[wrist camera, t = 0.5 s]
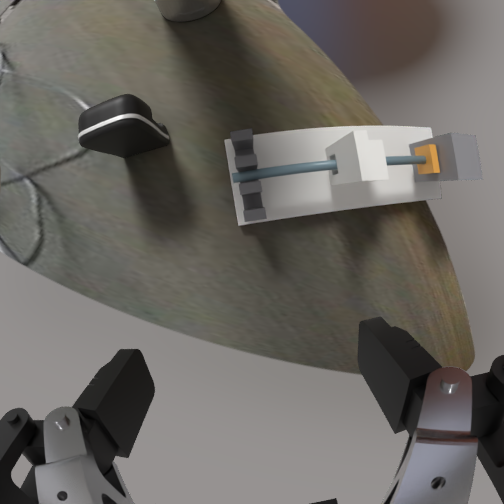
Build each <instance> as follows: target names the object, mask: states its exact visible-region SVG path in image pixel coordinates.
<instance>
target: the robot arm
mask: <svg viewBox="0 0 504 504" xmlns="http://www.w3.org/2000/svg"><path fill="white" fill-rule="evenodd" d="M220 1H221V0H155V2H156V4H157V6H158V8H159V10H160V12H161V14H162V15H163V16H164V17H165V18H166V19H168V20H171V21H177V22H184V21H191V20H195V19H199V18H201V17H203V16H206V15H207V14H209V13H211V12H212V11H213V10H215V9H216V8H217V6H218V5H219V3H220ZM358 364H359V369H360V371H361V373H362V375H363V377H364V379H365V381H366V382H367V384H368V386H369V387H370V389H371V391H372V393H373V395H374V397H375V398H376V400H377V402H378V404H379V406H380V407H381V409H382V411H383V413H384V415H385V416H386V418H387V420H388V422H389V424H390V426H391V428H392V429H393V431H394V433H395V434H396V433H398V432H401V431H404V430H407V431H408V433H409V437H408V440H407V443H406V446H405V449H404V452H403V455H402V457H401V460H400V463H399V466H398V468H397V471H396V474H395V476H394V478H393V481H392V483H391V485H390V487H389V489H388V491H387V493H386V495H385V497H384V499H383V501H382V503H381V504H468V500H469V496H470V492H471V487H472V482H473V476H474V470H475V464H476V457H477V456H478V458H479V460H480V461H481V463H482V465H483V467H484V468H485V470H486V472H487V474H488V476H489V477H490V479H491V481H492V483H493V485H494V487H495V488H496V490H497V492H498V494H499V496H500V498H501V500H502V502H503V504H504V355H501V356H499V357H497V358H496V359H495V360H494V361H493V363H492V366H491V369H490V372H488V373H483V374H479V375H475V376H469V374H468V373H467V372H465V371H464V370H462V369H460V368H457V367H442V366H441V365H440V364H439V363H438V362H437V361H436V360H435V359H434V358H433V357H432V356H431V355H430V354H429V353H428V352H427V351H426V350H425V349H424V348H423V347H421V346H420V344H419V343H418V342H417V341H416V340H414V338H413V337H412V336H411V335H410V334H409V333H408V332H407V331H405V330H403V329H400V328H398V327H396V326H394V327H390V325H389V324H388V323H387V322H386V321H385V320H384V319H383V318H382V317H376V318H372V319H368V320H364V321H361V322H360V324H359V341H358ZM154 393H155V387H154V382H153V380H152V377H151V375H150V372H149V370H148V367H147V365H146V362H145V360H144V357H143V355H142V353H141V351H140V350H138V349H120V350H119V351H118V352H117V354H116V355H115V356H114V357H113V359H112V360H111V361H110V362H109V363H107V364H106V365H105V366H103V367H102V368H101V369H100V370H99V371H98V373H97V374H96V375H95V376H94V378H93V379H92V380H91V382H90V383H89V385H88V386H87V387H86V388H85V390H84V391H83V393H82V394H81V395H80V397H79V398H78V399H77V401H76V402H75V404H74V405H73V406H72V407H60V408H57V409H55V410H53V411H52V412H50V413H49V414H48V415H47V416H46V418H45V420H32V418H31V417H30V415H29V414H28V412H27V411H26V410H25V409H23V408H16V409H12V410H10V411H9V412H7V413H6V414H5V415H4V416H3V418H2V419H1V420H0V504H135V503H134V502H133V500H132V498H131V496H130V494H129V492H128V490H127V488H126V486H125V484H124V481H123V479H122V477H121V475H120V472H119V470H118V467H117V465H116V464H115V462H113V460H114V458H115V456H120V457H126V458H128V457H129V455H130V453H131V450H132V448H133V445H134V443H135V440H136V438H137V435H138V433H139V430H140V428H141V426H142V423H143V421H144V418H145V416H146V414H147V411H148V409H149V406H150V404H151V402H152V399H153V397H154ZM21 454H23V455H24V456H25V457H26V458H27V460H28V461H29V462H30V463H31V464H32V465H33V466H32V468H31V470H30V471H29V473H28V475H27V477H26V479H25V481H24V483H23V485H22V486H21V488H19V487H17V486H16V485H15V484H14V482H13V481H12V478H11V471H12V469H13V467H14V466H15V464H16V462H17V461H18V459H19V457H20V456H21ZM311 504H337V500H336V498H335V499H331V500H326V501H321V502H316V503H311Z"/></svg>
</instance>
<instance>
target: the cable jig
mask: <svg viewBox="0 0 504 504" xmlns="http://www.w3.org/2000/svg"><path fill="white" fill-rule="evenodd" d="M357 130H367V134H368V139H369V140H382V141H383V146H384V152H385V157H386V163H387V169H388V176H389V179H387V180H378V181H369V182H359V183H349V184H339V185H331V181H330V175H329V170H337V169H338V168H337V162H336V160H327V157H326V151H325V149H326V148H327V147H329V146H330V145H332V144H333V143H335V142H336V141H338V140H339V139H341V138H342V137H344V136H346V135H347V134H349V133H350V132H352V131H357ZM230 135H231V139H227V140H224V141H225V147H226V154H227V160H228V166H229V172H230V178H231V184H232V190H233V196H234V202H235V208H236V214H237V220H238V226H240V225H246V224H252V223H259V222H265V221H271V220H278V219H284V218H291V217H298V216H305V215H311V214H318V213H326V212H333V211H340V210H348V209H355V208H363V207H371V206H379V205H387V204H396V203H405V202H414V201H423V200H432V199H441V198H442V194H441V185H440V181H447V180H478V179H482V171H481V164H480V157H479V151H478V146H477V141H476V136H475V135H468V134H459V133H448V134H444V135H440V136H436V137H433V136H432V131H431V128H427V127H426V128H425V127H409V126H408V127H407V126H344V127H325V128H311V129H300V130H290V131H281V132H273V133H265V134H258V135H253V133H252V128H250V129H244V130H238V131H232V132H230Z"/></svg>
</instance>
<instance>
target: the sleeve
mask: <svg viewBox="0 0 504 504" xmlns="http://www.w3.org/2000/svg"><path fill="white" fill-rule="evenodd" d="M325 151H326V157H327V160H336V162H337V168H338V169H337V170H329V175H330V181H331V185H339V184H349V183H359V182H369V181H378V180H387V179H389V176H388V169H387V163H386V157H385V152H384V146H383V141H382V140H369V139H368V134H367V130H357V131H352V132H350V133H349V134H347V135H346V136H344V137H342V138H341V139H339V140H338V141H336V142H335V143H333V144H332V145H330V146H329V147H327V148H326V149H325Z"/></svg>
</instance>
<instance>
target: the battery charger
mask: <svg viewBox="0 0 504 504" xmlns="http://www.w3.org/2000/svg"><path fill="white" fill-rule="evenodd" d="M78 124H79V135H78V140H79V143H80V145H81V146H82V147H84V148H88V149H91V150H95V151H99V152H103V153H107V154H112V155H116V156H119V157H122V158H126V157H129V156H132V155H135V154H139V153H142V152H145V151H149V150H152V149H156V148H159V147H162V146H166V145H168V144H169V136H168V132H167V129H166V127H165V126H164V125H163V124H161V123H156V122H155V121H154V120H153V119H152V112H151V109H150V107H149V106H148V105H147V104H146V103H145V102H143V101H142V100H141V99H139V98H138V97H136V96H134V95H131V94H124V95H120V96H117V97H115V98H112V99H110V100H107V101H105V102H102V103H100V104H98V105H96V106H94V107H91V108H89V109H87V110H86V111H84V112H83V113H82V114H81V115H80V118H79V123H78Z"/></svg>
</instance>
